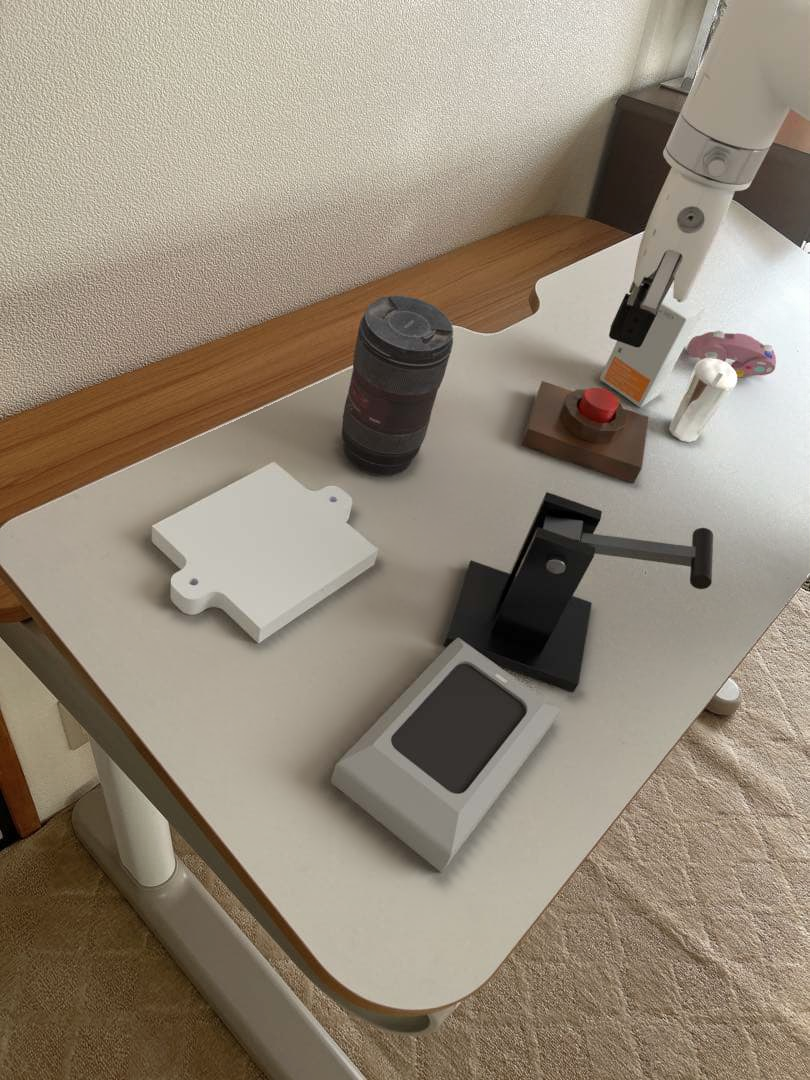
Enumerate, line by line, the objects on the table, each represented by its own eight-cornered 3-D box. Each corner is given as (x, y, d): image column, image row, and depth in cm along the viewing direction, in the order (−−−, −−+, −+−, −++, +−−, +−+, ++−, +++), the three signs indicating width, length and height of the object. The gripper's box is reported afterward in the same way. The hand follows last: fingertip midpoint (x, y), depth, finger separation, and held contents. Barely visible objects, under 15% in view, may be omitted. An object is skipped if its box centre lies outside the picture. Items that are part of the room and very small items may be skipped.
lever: (710, 547, 66) (715, 523, 64) (708, 595, 62) (714, 571, 61) (547, 526, 69) (548, 503, 67) (536, 571, 65) (537, 547, 64)
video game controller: (679, 373, 108) (703, 345, 102) (684, 341, 110) (709, 312, 103) (755, 395, 109) (785, 368, 102) (760, 363, 110) (789, 334, 103)
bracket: (587, 610, 77) (646, 508, 67) (573, 692, 70) (636, 591, 61) (467, 568, 77) (509, 460, 68) (442, 646, 71) (485, 538, 62)
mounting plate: (232, 661, 66) (234, 646, 64) (125, 555, 70) (125, 539, 69) (394, 550, 77) (398, 536, 75) (292, 466, 81) (294, 450, 80)
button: (613, 407, 92) (620, 394, 90) (610, 427, 89) (616, 414, 88) (580, 396, 92) (586, 382, 90) (576, 415, 89) (582, 402, 88)
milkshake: (658, 439, 96) (699, 365, 88) (666, 413, 99) (706, 339, 92) (698, 456, 95) (742, 382, 88) (705, 429, 99) (748, 356, 92)
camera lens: (320, 457, 83) (345, 322, 72) (359, 414, 88) (388, 282, 77) (396, 495, 81) (433, 362, 71) (431, 448, 87) (471, 319, 76)
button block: (640, 432, 96) (655, 403, 93) (633, 483, 90) (649, 454, 87) (535, 396, 96) (547, 366, 94) (521, 445, 90) (533, 414, 87)
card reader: (338, 755, 58) (461, 626, 68) (330, 782, 61) (450, 653, 70) (454, 849, 55) (566, 700, 65) (441, 872, 58) (550, 726, 68)
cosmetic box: (597, 380, 101) (638, 289, 92) (617, 368, 104) (659, 278, 95) (640, 409, 99) (687, 319, 90) (659, 396, 101) (706, 307, 93)
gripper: (760, 203, 66) (656, 395, 79) (758, 133, 76) (666, 313, 89) (664, 170, 66) (576, 367, 79) (675, 104, 76) (596, 288, 90)
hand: (624, 338), depth 84 cm, fingers closed
